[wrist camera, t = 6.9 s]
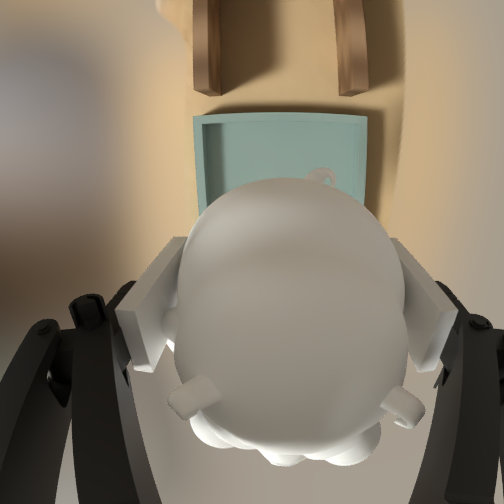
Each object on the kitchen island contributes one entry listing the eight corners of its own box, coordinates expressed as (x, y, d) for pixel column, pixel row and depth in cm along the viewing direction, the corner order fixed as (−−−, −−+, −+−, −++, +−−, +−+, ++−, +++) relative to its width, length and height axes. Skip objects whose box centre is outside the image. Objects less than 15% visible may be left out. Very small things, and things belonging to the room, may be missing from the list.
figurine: (222, 134, 15) (80, 168, 4) (397, 190, 15) (554, 313, 4) (186, 296, 19) (110, 466, 8) (333, 333, 19) (363, 507, 8)
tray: (199, 116, 27) (192, 116, 25) (360, 116, 26) (367, 116, 24) (209, 262, 33) (204, 273, 31) (351, 263, 32) (356, 273, 30)
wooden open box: (208, -41, 20) (195, -67, 14) (338, -42, 19) (349, -68, 13) (209, 96, 26) (193, 89, 21) (350, 96, 25) (368, 90, 20)
